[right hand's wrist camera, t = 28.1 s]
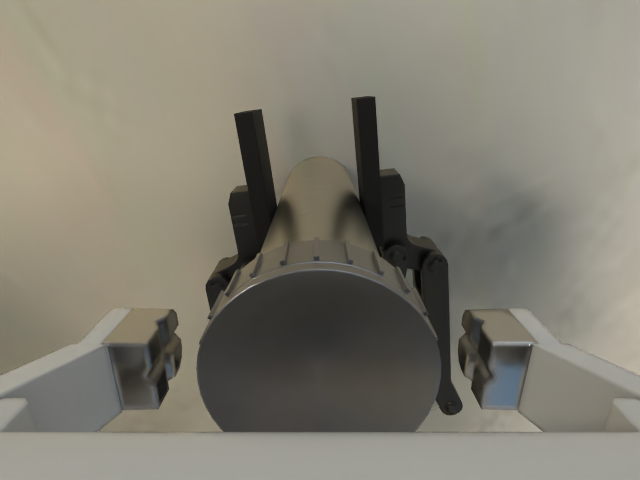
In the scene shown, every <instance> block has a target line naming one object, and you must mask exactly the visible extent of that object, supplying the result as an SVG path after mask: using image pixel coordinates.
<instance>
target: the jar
mask: <svg viewBox="0 0 640 480" xmlns="http://www.w3.org/2000/svg"><path fill="white" fill-rule="evenodd" d="M315 237H319V240H332V241H338V242H345V240H347V241H350V244H352V245H355V246H358V247H361V248H364V249H366V250H368V251H370V252H373V250H375V251H377V252H378V250H377V248H376V245H375V242H374V240H373V237H372V234H371V232H370V229H369V226H368V223H367V221H366V218H365V215H364V213H363V210H362V207H361V205H360V202H359V199H358V197H357V194H356V191H355V189H354V186H353V183H352V181H351V178H350V176H349V174H348V172H347V171H346V169H345V168H344V167H343V166H342V165H341V164H339V163H338V162H336V161H335V160H332V159H330V158H326V157H313V158H309V159H306V160H304V161H302V162H301V163H299V164H298V165H297V166H296V167H295V168H294V169H293V170H292V172H291V174H290V176H289V178H288V180H287V183H286V186H285V188H284V191H283V194H282V196H281V199H280V201H279V204H278V207H277V209H276V212H275V215H274V217H273V220H272V223H271V225H270V228H269V231H268V233H267V236H266V238H265V241H264V244H263V246H262V249H261V253H262V254H264V253H266V252H268V251H270V250H272V249H274V248H277V247H280V246H283V245H284V242H287V241H289V244H290V243H295V242H299V241H308V240H314V238H315ZM378 255H379V253H378ZM379 257H380V256H379Z"/></svg>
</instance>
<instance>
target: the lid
mask: <svg viewBox="0 0 640 480" xmlns="http://www.w3.org/2000/svg"><path fill="white" fill-rule="evenodd" d="M427 315H428V312H427V310H426V308H425V306H424V304H423V302H422V300H421V298H420V296H419V294H418V292H417V290H416V288H415V287H413V288H411V287H410V285H409V284H408V282H407V281H406V279H405V278H404V276H403V274H402V272H401V269H400V268H399V267H398V266H397V267H396V268H394V267H393V266H392V265H391V264H389V263H388V262H387V261H386V260H384V259H383V258H381V257H379V255H378V252H377V251H375V250H373V252H370V251H368V250H366V249H364V248H361V247H358V246H355V245H352V244H350V241H347V240H345V242H338V241H332V240H319V237H315V238H314V240H308V241H299V242H295V243H290V244H289V241H287V242H284V245H283V246H280V247H277V248H274V249H272V250H270V251H268V252H266V253H264V254H262V253H261V252H260V253H258V254H257V256H256V258H255V259H254V260H253V261H251V262H250V263H248V264H247V265H246V266H245V267H244V268H243V269H242V270H241V271H240V270H239V269H237V270H236V271H235V273H234V275H233V277H232V279H231V281H230V283H229V285H228V287H227V289H226V290H225V292H224V291H222V290H221V292H220V294H219V296H218V298H217V300H216V302H215V304H214V306H213V308H212V310H211V312H210V314H209V316H208V319H210V321H209V323H208V325H207V327H206V329H205V331H204V333H203V335H202V337H201V339H200V343H199V344H200V348H199V352H198V357H197V380H198V385H199V389H200V394H201V397H202V399H203V401H204V404H205V406H206V408H207V410H208V412H209V413H210V415H211V417H212V418H213V420H214V421H215V422H216V423H217V425H218V426H219V427H220V429H222V430H223V431H224V432H414V431H415V430H416V429H417V428H418V427H419V426H420V425H421V424H422V422H423V421H424V419H425V418H426V417H427V415H428V414H429V412H430V410H431V408H432V406H433V404H434V402H435V399H436V396H437V393H438V390H439V385H440V379H441V358H440V351H439V348H438V344H437V341H438V338H437V335H436V333H435V331H434V329H433V327H432V325H431V323H430V321H429V319H428V317H427Z"/></svg>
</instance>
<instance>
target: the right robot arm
mask: <svg viewBox="0 0 640 480" xmlns="http://www.w3.org/2000/svg"><path fill="white" fill-rule="evenodd" d="M178 325H179V324H178V318H177V313H176V312H175V311H174V310H173V309H134V308H123V309H112V310H111V311H110V312H109V313H108V314H107V315H106V316H105V317H104V318H103V319H102V320H101V321H100V322H99V323H98V324H97V325H96V326H95V327H94V328H93V329H92V330H91V331H90V332H89V333H88V334H87V335H86V336H85V337H84V338H83V339H82V340H81V341H80V342H79V343H78V344H71V345H68V346H66V347H64V348H61V349H59V350H57V351H55V352H52V353H50V354H48V355H46V356H43V357H41V358H39V359H37V360H34V361H32V362H30V363H27V364H25V365H23V366H21V367H18V368H16V369H14V370H12V371H9V372H7V373H5V374H3V375H0V480H640V376H639V375H637V374H635V373H633V372H630V371H628V370H626V369H624V368H621V367H619V366H617V365H615V364H612V363H610V362H608V361H606V360H603V359H601V358H599V357H597V356H594V355H592V354H590V353H588V352H585V351H583V350H581V349H579V348H576V347H574V346H572V345H569V344H562V343H561V342H560V341H559V340H558V339H557V338H556V337H555V336H554V335H553V334H552V333H551V332H550V331H549V330H548V329H547V328H546V327H545V326H544V325H543V324H542V323H541V322H540V321H539V320H538V319H537V318H536V317H535V316H534V315H533V314H532V313H531V312H530V311H529V310H528V309H525V308H516V309H477V310H465V312H464V314H463V317H462V324H461V325H462V326H463V328H464V330H465V331H466V333H465V334H464V335H463V336H462V337H461V338H460V339H459V345H458V357H459V364H460V367H461V370H462V372H463V374H464V376H465V377H467V378H468V379H470V380H471V381H472V386H471V390H472V392H473V394H474V395H475V397H476V399H477V401H478V403H479V405H480V407H481V409H497V410H518V412H519V413H520V414H521V415H523V416H524V417H525V418H527V419H528V420H529V421H530V422H532V423H533V424H534V425H535V426H537V427H538V428H539V429H540V430H542V431H543V432H97V431H99V430H100V429H101V428H102V427H104V426H105V425H106V424H107V423H109V422H110V421H111V420H112V419H114V418H115V417H116V416H117V415H119V414H120V413H121V412H122V410H142V409H159V407H160V405H161V403H162V401H163V399H164V397H165V395H166V394H167V392H168V390H169V386H168V381H169V380H170V379H172V378H173V377H175V376H176V374H177V372H178V370H179V367H180V363H181V358H182V344H181V339H180V338H179V337H178V336H177V335H176V334H175V333H174V331H175V330H176V328H177V326H178Z"/></svg>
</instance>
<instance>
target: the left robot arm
mask: <svg viewBox="0 0 640 480" xmlns="http://www.w3.org/2000/svg"><path fill="white" fill-rule="evenodd" d="M351 100H352V112H353V124H354V136H355V149H356V161H357V173H358V185H359V198H360V205H361V207H362V210H363V213H364V215H365V218H366V221H367V223H368V226H369V229H370V232H371V234H372V237H373V240H374V242H375V245H376V248H377V250H378V253H379V256H380V257H381V258H383V259H384V260H386V261H387V262H388V263H389V264H391V265H392V266H393V267H394V268H396V267H397V266H398V267H399V268H400V269H401V272H402V274H403V276H404V278H405V276H406V271H407V268H409V269H413V285H414V287H415V288H416V290H417V292H418V294H419V296H420V298H421V300H422V302H423V304H424V306H425V308H426V310H427V312H428V315H427V317H428V319H429V321H430V323H431V325H432V327H433V329H434V331H435V333H436V335H437V338H438V341H437V344H438V348H439V351H440V358H441V379H440V385H439V390H438V393H437V396H436V399H435V402H434V404H433V406H432V408H431V410H433V409H435V408H438V407H440V409H441V411H442V412H443V413H444V414H446V415H455V414H457V413H459V412H460V411H461V410H462V407H463V405H462V402H461V400H460V397H459V395H458V393H457V391H456V389H455V387H454V384H453V382H452V380H451V366H450V326H449V286H448V263H447V260H446V258H445V257H444V256H443V254H442V253H441V252H440V250H439V249H438V248H437V246H436V245H435V244H434V243H433V241H432V240H431V239H430V238H428V237H420V238H417V237H412V236H409V235H407V233H406V209H405V184H404V182H403V180H402V178H401V176H400V174H399V173H398V172H397V171H396V170H395V169H394V168H393V169H385V170H380V168H379V152H378V136H377V119H376V103H375V97H372V96H365V97H357V98H351ZM234 117H235V122H236V127H237V133H238V138H239V144H240V149H241V155H242V160H243V165H244V171H245V176H246V182H247V185H244V186H237V187H236V188H235V189H234V190H233V191H232V192H231V194H230V199H229V204H228V205H229V210H230V215H231V219H232V224H233V229H234V234H235V239H236V244H237V249H238V254H237V255H235V256H233V257H231V258H223V259H222V260H220V261H219V263H218V265H217V266H216V268H215V270H214V271H213V273H212V275H211V276H210V278H209V280H208V282H207V284H206V293H207V297H208V302H209V306H210V311H211V310H212V308H213V306H214V304H215V302H216V300H217V298H218V296H219V294H220V292H221V290H222V291H224V292H225V290H226V289H227V287H228V285H229V283H230V281H231V279H232V277H233V275H234V273H235V271H236V270H237V269H239V270H240V271H241V270H242V269H243V268H244V267H245V266H246V265H247V264H248V263H250V262H251V261H253V260H254V259H255V258H256V256H257V254H258V253H260V252H261V249H262V246H263V244H264V241H265V238H266V236H267V233H268V231H269V228H270V225H271V223H272V220H273V217H274V215H275V212H276V209H277V203H276V197H275V191H274V184H273V178H272V172H271V166H270V159H269V153H268V147H267V141H266V134H265V128H264V122H263V116H262V109H259V110H251V111H244V112H240V113H236V114H234Z"/></svg>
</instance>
